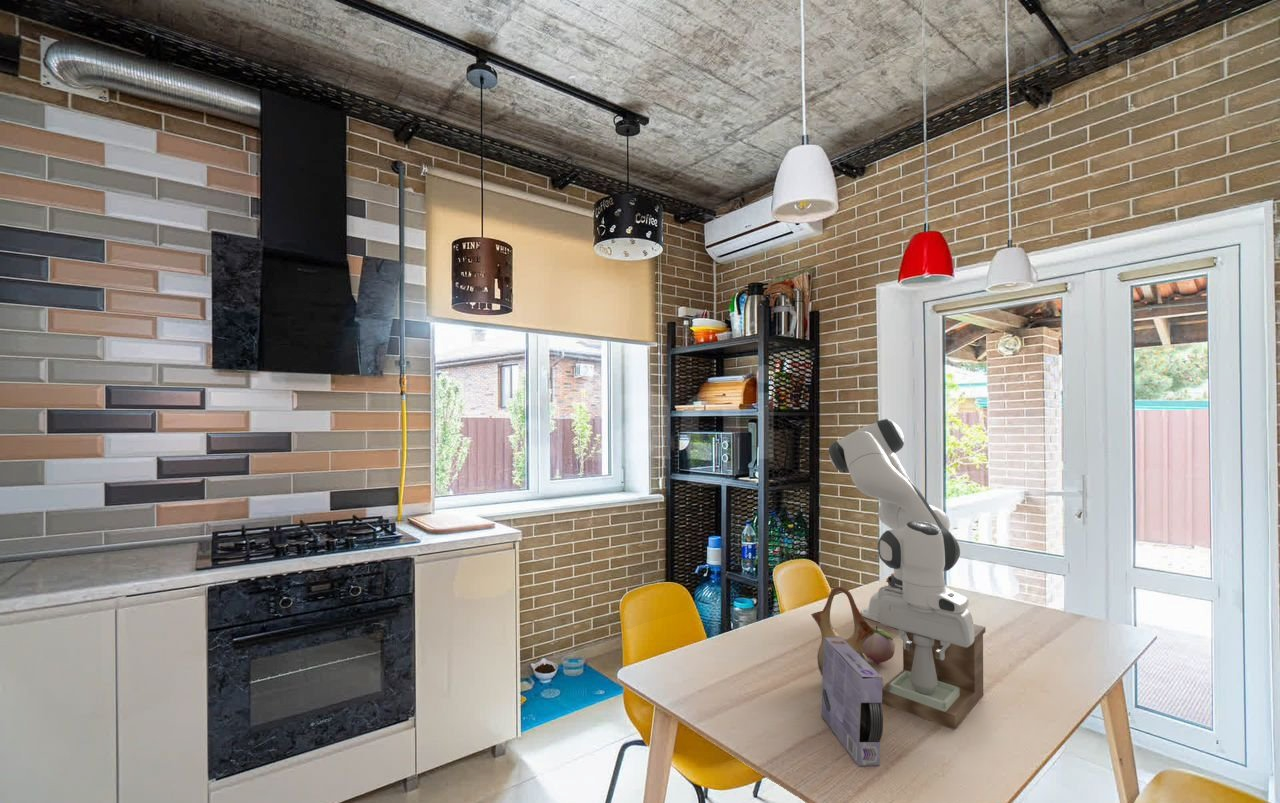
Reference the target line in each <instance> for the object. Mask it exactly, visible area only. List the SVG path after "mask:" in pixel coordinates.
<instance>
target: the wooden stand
mask: <svg viewBox="0 0 1280 803" xmlns="http://www.w3.org/2000/svg"><path fill="white" fill-rule="evenodd" d="M973 625H974V636H975V639H974V642H973V644H972V645H970V646H969V647H967V648H966V647H962V646H958V645H955V644H951V643H950V645H949V647H948V648H947V649H946V651H945V658H944V660H939V659H936V658H935V656H936V654H935V651H936V650H937V649H942V647H943V646H942V645H940V640H936V639H934V645H933V647H931V649H932V654H933V659H934V664H935V669H936V675H937V680H938V681H940V682H943V683H947V684H950V685H953V686H956V687H959V688H960V696H959V697H958V698H957V699H956V700H955V702H954V703H953V704H952V705H951V706H950V707H949V708H948V710H947V711H946V712H944V711H941V710H938V709H935V708H933V707H930V706H927V705H924V704H921V703H918V702H916V701H913V700H910V699H907V698H904V697H902V696H899V695H896V694H893V693H890V692H889V684H890V683H891V682H892V681H893V680H895V679H896V678H897V677H898V676H899V675H900V674H902V673H903V672H904V671H905V670H906V671H909V672H911V670H912V665H913V659H914V654H915V648H916V644H915V643H914V642H913V636H914V633H911V632H907V633H906V635H907V637H908V639H909V641H912V642H913V645H912V646H913V649H912V650H911V651H909V650H905V649H904V642H903V641H902V662H903V663H902V665H903V666H902V670H901V671H900V672H899V673H897V674H896V675H895V676H894V677H892V678H891V679H890V680H889V681H888V682H886V684H884V685H883V686H882V702H881V704H885V705H888V706H891V707H893V708H896V709H898V710H901V711H904V712H906V713H910V714H912V715H915V716H917V717H921V718H924V719H926V720H929V721H930V722H933V723H937V724H939V725H941V726H945V727H947V728H949V729H953V730H957V728H958V727H959V726H960V725H961V723H963V722H964V720H965V718H966V717H967V716H968V715H969V714H970V712H971V711H972V710H973V709H974V707H975V706H976V705H977V704H978V702H980V700H981V699H982V697H983V696H984V634H985V633H986V626H983V625H978V624H974V623H973Z"/></svg>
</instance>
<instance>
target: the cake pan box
mask: <svg viewBox="0 0 1280 803" xmlns="http://www.w3.org/2000/svg"><path fill="white" fill-rule="evenodd" d="M865 660H866V659H865ZM865 660H864V659H863V658H862V657H861V656H860V655H859V654H858V653H857V652H856V651H855V650H854V649H853V648H852V647H851V646H850V645H849V644H848V643H847V642H846V641H845V640H844V639H843V638H825V639H824V653H823V677H821V678H822V683H821V684H822V685H821V705H820V706H821V708H820V716H821V718H823V719H824V721H825V722H826V723H827V724H828V726H829V727H830V729H831V730H832V732H833V734H834V736H835V737H836V738H837V740H838V741H839V743H840V744H841V746H843V747H844V749H846V752H848V754H849V755H850V756H851V758H852V759H853V760H854V761H855V764H856V765H857V767H879V766H881V764H880V763H881V762H880V760H881V739H882V736H883V733H884V732H883V731H884V730H883V729H884V713H883V703H882V687H883V686H884V685H883V684H884V681H883V680H884V679H883V677H882V676H881V675H880V674H879V672H878V671H877V670H876V669H875V668H873V667H872V666H871V665H870V664H869V662H868V661H865Z"/></svg>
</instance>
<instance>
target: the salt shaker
mask: <svg viewBox="0 0 1280 803" xmlns="http://www.w3.org/2000/svg"><path fill="white" fill-rule="evenodd" d="M913 642H914V643H915V644H916V648H915V654H914V659H913V665H912V670H911V675H910V681H911V683H912V685H913V687H914V690H915V692H918V693H920V694H922V695H932V694H933V693H934V691H935V689H936V688H937V685H938V680H937V675H936V669H935V664H934V659H933V654H932V649H931V647H933V645H934V639H933V638H929V637H925V636H922V635H918V634H914V636H913Z"/></svg>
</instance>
